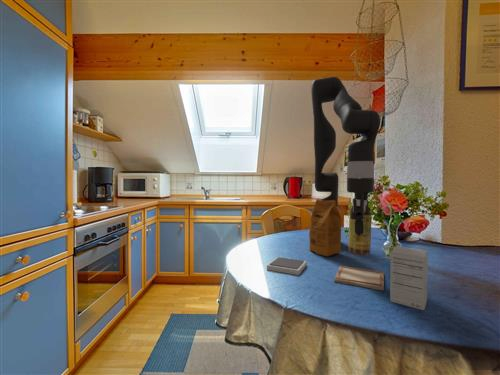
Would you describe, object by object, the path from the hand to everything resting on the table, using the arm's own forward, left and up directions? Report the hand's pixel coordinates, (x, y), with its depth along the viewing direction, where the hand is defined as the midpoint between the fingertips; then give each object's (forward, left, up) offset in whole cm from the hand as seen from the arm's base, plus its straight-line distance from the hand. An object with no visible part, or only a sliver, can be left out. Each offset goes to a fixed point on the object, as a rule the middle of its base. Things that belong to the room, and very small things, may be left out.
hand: (359, 231), depth 78 cm
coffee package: (-23, -15, -15) cm, 31 cm away
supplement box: (+10, +12, -15) cm, 22 cm away
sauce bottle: (0, 0, -7) cm, 7 cm away
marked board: (0, 0, -14) cm, 14 cm away
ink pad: (+1, -23, -15) cm, 27 cm away
